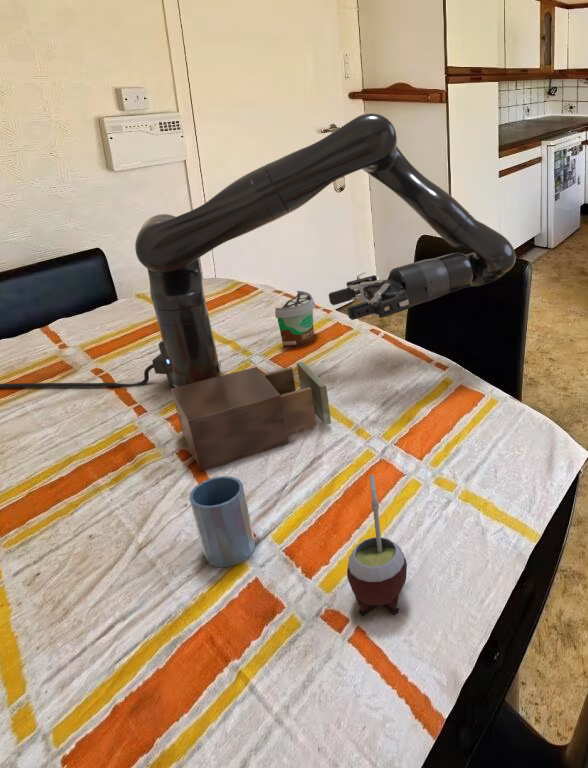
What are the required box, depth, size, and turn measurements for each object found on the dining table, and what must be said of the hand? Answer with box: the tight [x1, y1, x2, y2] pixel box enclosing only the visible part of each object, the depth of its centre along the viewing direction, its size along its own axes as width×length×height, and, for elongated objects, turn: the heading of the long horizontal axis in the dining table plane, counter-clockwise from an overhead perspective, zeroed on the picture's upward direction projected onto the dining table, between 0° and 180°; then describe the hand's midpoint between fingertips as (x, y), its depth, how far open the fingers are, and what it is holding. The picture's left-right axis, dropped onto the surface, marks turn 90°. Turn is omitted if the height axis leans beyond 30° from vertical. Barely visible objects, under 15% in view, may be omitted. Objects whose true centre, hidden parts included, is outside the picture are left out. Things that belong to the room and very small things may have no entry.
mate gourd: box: [346, 474, 408, 618], centre depth 74 cm, size 8×8×15 cm
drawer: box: [263, 361, 332, 434], centre depth 111 cm, size 15×11×8 cm
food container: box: [274, 290, 316, 349], centre depth 143 cm, size 12×6×10 cm, turn 168°
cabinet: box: [170, 366, 289, 472], centre depth 106 cm, size 15×13×10 cm
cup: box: [189, 475, 256, 568], centre depth 82 cm, size 6×6×10 cm
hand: (339, 306), depth 109 cm, fingers open, 8 cm apart
